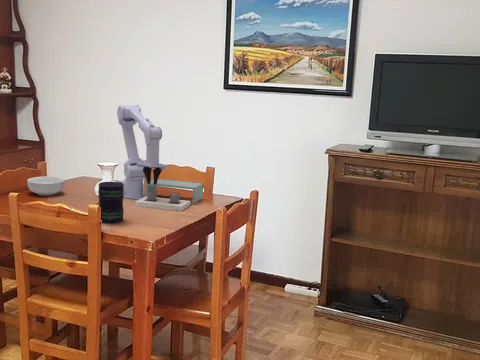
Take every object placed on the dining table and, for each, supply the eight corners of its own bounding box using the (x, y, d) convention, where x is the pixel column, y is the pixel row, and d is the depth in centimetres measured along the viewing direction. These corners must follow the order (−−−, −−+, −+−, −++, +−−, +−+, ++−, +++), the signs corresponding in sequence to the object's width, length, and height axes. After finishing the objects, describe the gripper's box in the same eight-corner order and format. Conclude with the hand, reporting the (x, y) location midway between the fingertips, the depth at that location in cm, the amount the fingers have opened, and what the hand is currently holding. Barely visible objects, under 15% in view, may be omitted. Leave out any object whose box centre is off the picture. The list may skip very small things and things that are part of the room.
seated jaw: (168, 207, 253) (169, 194, 252) (171, 205, 257) (172, 192, 256) (177, 208, 252) (177, 195, 251) (180, 206, 256) (180, 193, 255)
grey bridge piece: (144, 197, 266) (145, 182, 265) (155, 192, 278) (155, 178, 277) (194, 202, 261) (195, 187, 259) (202, 197, 272) (203, 183, 271)
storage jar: (127, 222, 225) (127, 185, 222) (103, 224, 220) (103, 187, 217) (118, 216, 233) (118, 180, 231) (94, 218, 228) (94, 182, 225)
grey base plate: (134, 205, 253) (134, 201, 252) (145, 200, 264) (145, 196, 264) (181, 211, 248) (181, 206, 247) (190, 205, 259) (190, 201, 259)
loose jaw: (145, 204, 256) (145, 191, 255) (149, 203, 260) (149, 190, 259) (153, 205, 255) (154, 192, 254) (157, 203, 259) (157, 191, 258)
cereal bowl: (20, 193, 267) (20, 178, 265) (52, 189, 279) (52, 174, 278) (39, 199, 256) (39, 184, 255) (72, 194, 268) (72, 180, 267)
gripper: (133, 153, 251) (133, 184, 253) (164, 156, 248) (163, 187, 250) (140, 152, 258) (139, 181, 260) (170, 154, 254) (169, 184, 257)
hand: (152, 184), depth 256 cm, fingers closed
